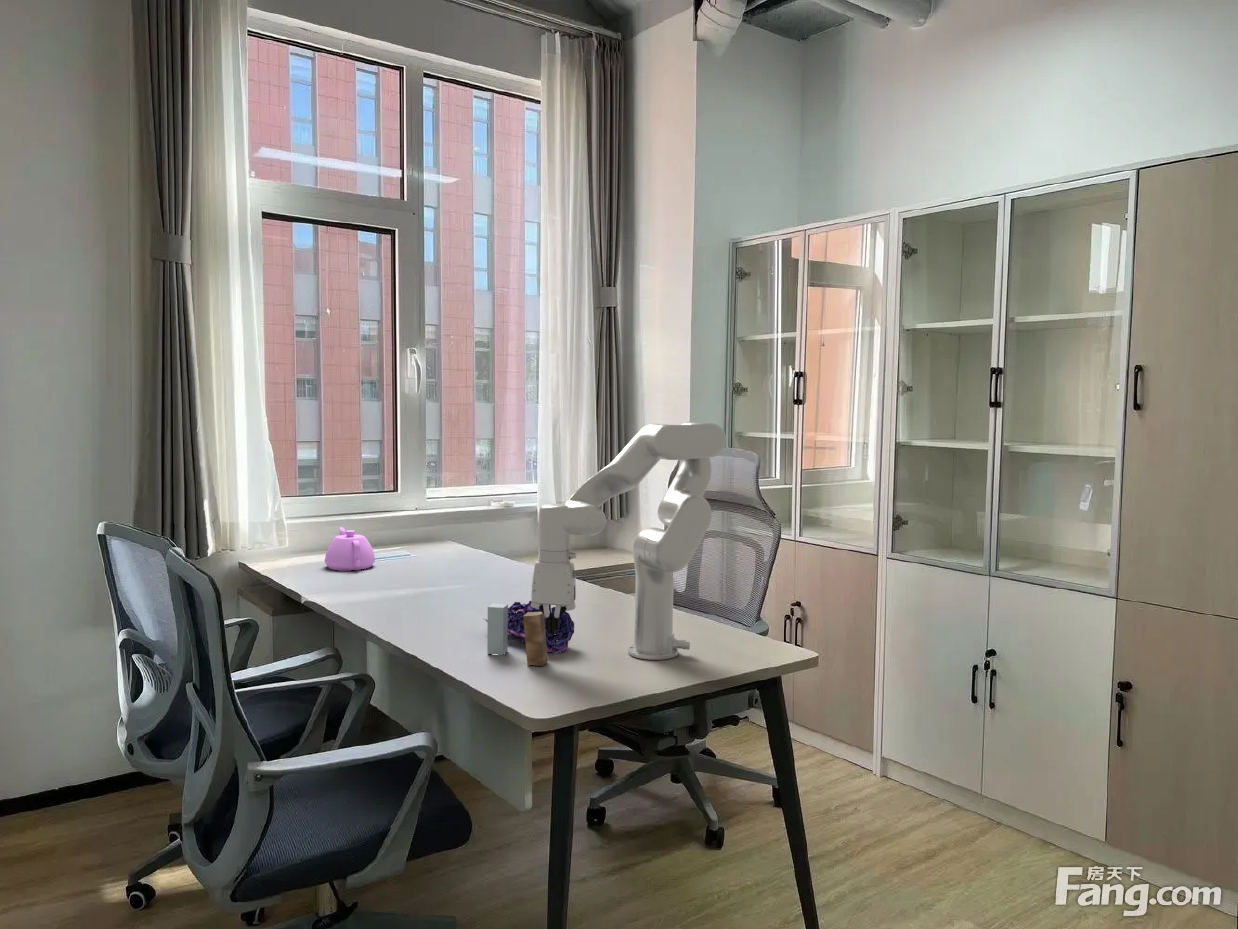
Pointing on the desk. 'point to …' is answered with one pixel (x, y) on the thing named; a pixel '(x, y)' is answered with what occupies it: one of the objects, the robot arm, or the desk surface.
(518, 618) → the decorative ornament
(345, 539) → the teapot
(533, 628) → the walnut block
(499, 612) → the grey block
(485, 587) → the desk surface
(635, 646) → the robot arm
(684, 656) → the desk surface
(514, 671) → the desk surface
